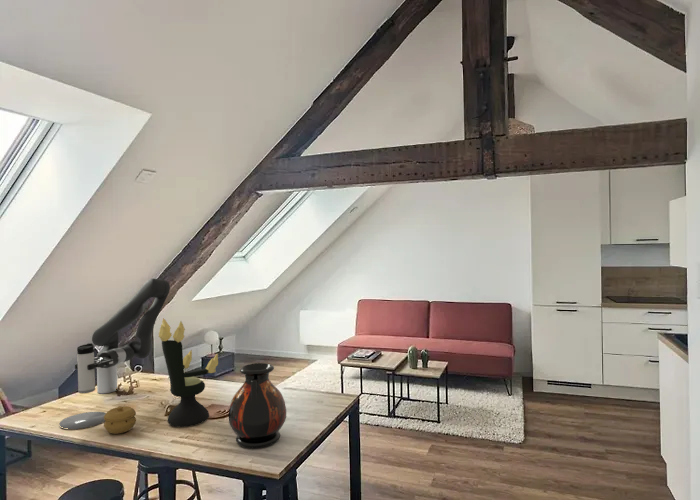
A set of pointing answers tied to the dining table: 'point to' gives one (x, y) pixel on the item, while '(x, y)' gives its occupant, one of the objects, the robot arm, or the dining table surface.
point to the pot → (119, 419)
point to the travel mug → (85, 368)
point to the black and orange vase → (257, 408)
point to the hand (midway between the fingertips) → (81, 367)
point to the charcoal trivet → (83, 420)
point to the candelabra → (184, 379)
